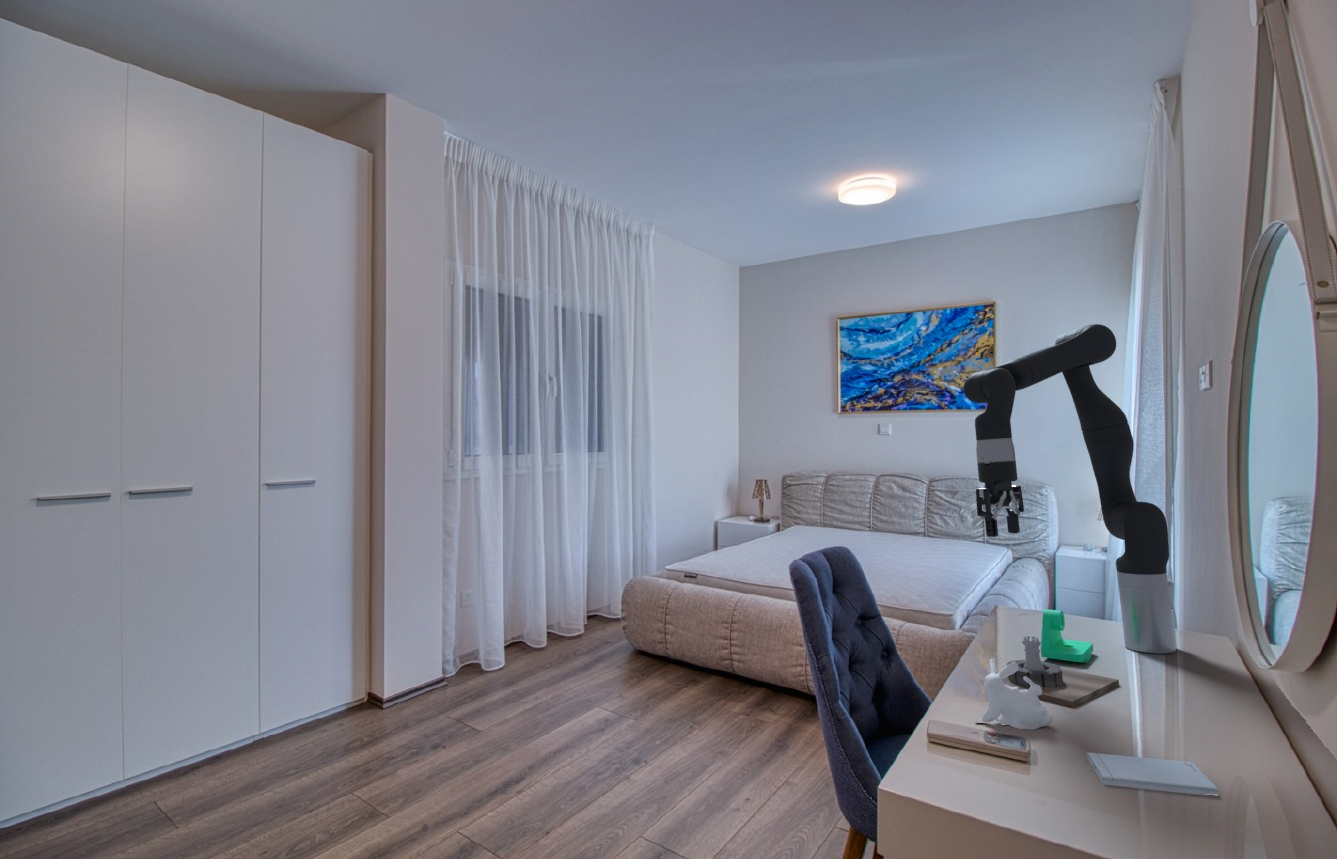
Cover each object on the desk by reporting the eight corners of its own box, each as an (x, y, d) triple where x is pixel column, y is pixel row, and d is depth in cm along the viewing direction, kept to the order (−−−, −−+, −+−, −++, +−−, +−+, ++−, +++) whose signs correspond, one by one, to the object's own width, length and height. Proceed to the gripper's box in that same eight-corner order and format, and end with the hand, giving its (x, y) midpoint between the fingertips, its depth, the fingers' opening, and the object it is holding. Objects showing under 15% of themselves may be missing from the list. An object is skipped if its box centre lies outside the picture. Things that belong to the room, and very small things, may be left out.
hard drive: (1191, 760, 86) (1086, 750, 91) (1218, 788, 79) (1102, 775, 83) (1192, 773, 86) (1087, 761, 91) (1219, 801, 79) (1103, 788, 83)
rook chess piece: (1045, 676, 123) (1040, 635, 124) (1050, 683, 119) (1046, 640, 120) (1019, 675, 125) (1015, 634, 126) (1024, 682, 121) (1020, 640, 121)
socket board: (1033, 666, 133) (1031, 650, 133) (1119, 684, 119) (1117, 666, 120) (985, 685, 123) (984, 667, 123) (1073, 707, 110) (1071, 686, 110)
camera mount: (1083, 667, 131) (1077, 618, 132) (1042, 661, 137) (1037, 614, 137) (1094, 654, 140) (1089, 607, 141) (1056, 649, 145) (1051, 604, 146)
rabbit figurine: (972, 724, 105) (967, 665, 106) (973, 709, 112) (969, 653, 112) (1055, 735, 99) (1050, 672, 100) (1052, 718, 106) (1046, 660, 107)
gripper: (997, 460, 144) (1004, 531, 142) (961, 462, 136) (968, 537, 135) (1030, 458, 137) (1038, 532, 136) (994, 460, 130) (1002, 538, 128)
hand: (1003, 534), depth 135 cm, fingers open, 8 cm apart
